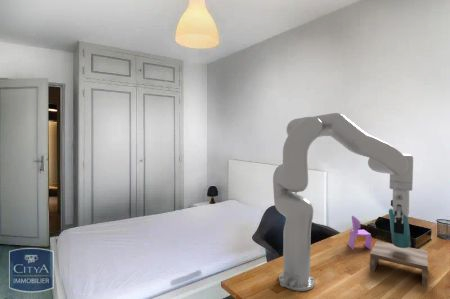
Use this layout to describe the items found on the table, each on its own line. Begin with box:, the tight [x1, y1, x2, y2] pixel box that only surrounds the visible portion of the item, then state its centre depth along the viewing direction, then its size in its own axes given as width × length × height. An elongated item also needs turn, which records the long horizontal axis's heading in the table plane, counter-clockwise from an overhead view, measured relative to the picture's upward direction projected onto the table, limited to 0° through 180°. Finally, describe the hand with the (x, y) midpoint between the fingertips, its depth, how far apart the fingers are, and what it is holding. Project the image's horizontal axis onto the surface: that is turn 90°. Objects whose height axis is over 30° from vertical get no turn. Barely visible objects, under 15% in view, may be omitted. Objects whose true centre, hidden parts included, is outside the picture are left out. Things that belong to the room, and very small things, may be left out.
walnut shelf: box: [369, 240, 429, 287], centre depth 106 cm, size 16×18×7 cm
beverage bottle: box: [388, 199, 412, 248], centre depth 106 cm, size 6×7×20 cm
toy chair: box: [347, 215, 373, 251], centre depth 128 cm, size 8×9×15 cm
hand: (399, 230), depth 105 cm, fingers closed on beverage bottle, 5 cm apart
